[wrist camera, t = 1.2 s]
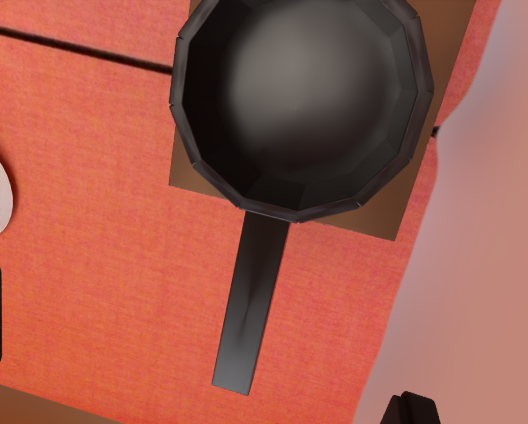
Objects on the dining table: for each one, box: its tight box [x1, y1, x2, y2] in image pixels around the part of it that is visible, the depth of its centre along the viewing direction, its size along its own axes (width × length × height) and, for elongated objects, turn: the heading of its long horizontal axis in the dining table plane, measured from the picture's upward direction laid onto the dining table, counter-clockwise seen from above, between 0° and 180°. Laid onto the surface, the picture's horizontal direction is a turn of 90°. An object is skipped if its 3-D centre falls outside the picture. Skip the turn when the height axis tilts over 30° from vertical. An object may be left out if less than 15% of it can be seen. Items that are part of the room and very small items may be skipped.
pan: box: [169, 0, 435, 396], centre depth 20 cm, size 20×10×5 cm, turn 169°
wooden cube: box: [169, 0, 476, 241], centre depth 27 cm, size 13×13×14 cm
